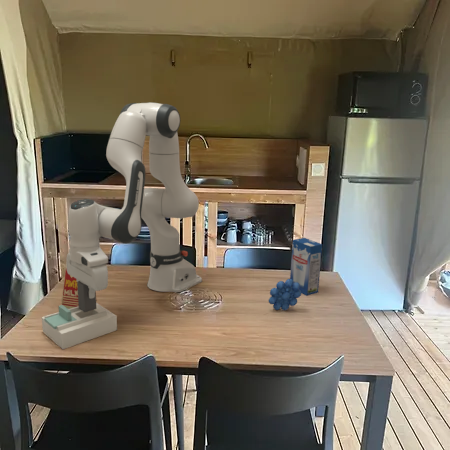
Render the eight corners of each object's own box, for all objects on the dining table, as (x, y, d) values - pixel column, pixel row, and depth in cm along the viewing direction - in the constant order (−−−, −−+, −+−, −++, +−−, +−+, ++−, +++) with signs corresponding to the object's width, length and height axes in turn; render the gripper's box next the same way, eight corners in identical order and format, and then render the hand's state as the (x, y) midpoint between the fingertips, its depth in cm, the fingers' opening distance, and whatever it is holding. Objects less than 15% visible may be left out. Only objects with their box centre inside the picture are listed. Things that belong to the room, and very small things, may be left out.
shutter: (66, 314, 143) (65, 303, 142) (76, 322, 138) (76, 310, 137) (44, 320, 138) (43, 309, 137) (54, 329, 133) (53, 317, 132)
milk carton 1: (84, 310, 158) (81, 255, 153) (60, 307, 159) (56, 253, 154) (96, 300, 166) (94, 247, 161) (73, 297, 168) (70, 245, 163)
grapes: (297, 304, 167) (299, 274, 164) (301, 313, 161) (304, 281, 158) (265, 305, 166) (267, 274, 163) (269, 313, 160) (271, 281, 157)
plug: (90, 304, 146) (88, 275, 144) (96, 308, 144) (95, 279, 141) (78, 308, 144) (77, 278, 141) (84, 312, 141) (83, 282, 139)
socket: (95, 315, 155) (94, 298, 153) (117, 330, 145) (116, 312, 143) (42, 331, 142) (41, 313, 141) (62, 349, 133) (61, 330, 131)
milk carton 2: (318, 292, 179) (322, 244, 174) (306, 296, 175) (310, 246, 170) (300, 284, 187) (304, 237, 182) (289, 287, 183) (292, 239, 178)
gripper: (60, 246, 144) (62, 287, 148) (91, 263, 130) (93, 308, 134) (78, 243, 148) (80, 282, 152) (111, 259, 134) (112, 302, 138)
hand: (87, 294), depth 143 cm, fingers closed on plug, 4 cm apart
